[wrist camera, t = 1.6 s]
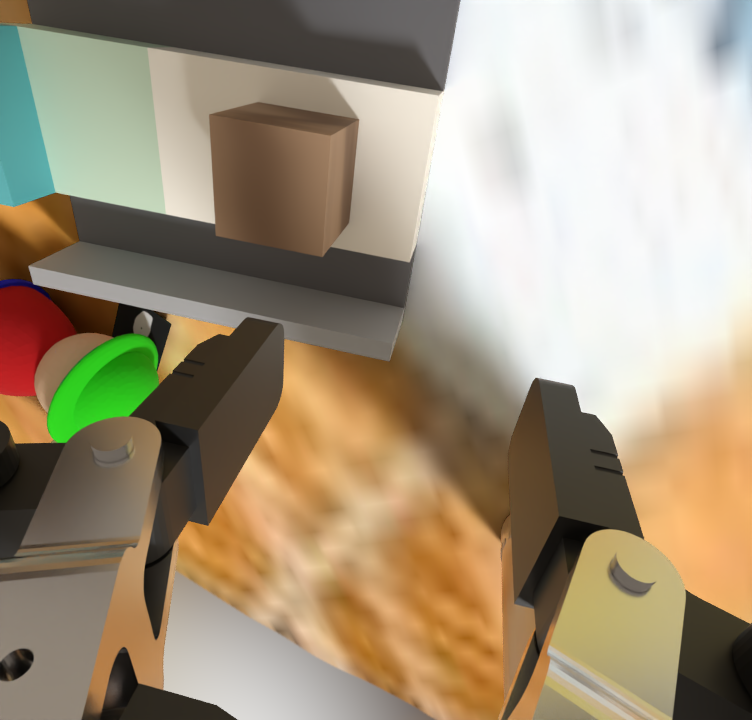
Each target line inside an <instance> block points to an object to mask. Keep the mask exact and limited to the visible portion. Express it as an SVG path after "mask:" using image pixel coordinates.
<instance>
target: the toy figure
mask: <svg viewBox="0 0 752 720" xmlns="http://www.w3.org/2000/svg"><path fill="white" fill-rule="evenodd" d="M170 327H171V324H170V323H169V322H168V321H166V320H165V319H163V318H162V317H160V316H159V315H158V314H156V313H155V312H153V311H152V310H149V309H145V308H140V307H136V306H131V305H126V304H122V303H119V306H118V311H117V316H116V320H115V325H114V329H113V334H112V337H110V336H107V335H104V334H98V333H82V334H77V333H76V331H75V329H74V327H73V325H72V323H71V322H70V320H69V319H68V318H67V316H66V315H65V314H64V313H63V312H62V311H61V310H60V309H59V307H58V306H57V305H55V304H54V303H53V302H52V300H51V298H50V296H49V294H48V293H47V292H45V291H44V290H43V289H42V288H41V287H39V286H38V285H34V284H33V283H32V282H30V281H26V280H21V279H8V280H2V281H0V394H4V395H10V396H35V395H37V398H38V400H39V402H40V404H41V406H42V407H43V408H44V409H45V410H46V412H47V413H48V415H47V427H48V431H49V433H50V435H51V437H52V438H53V439H54V440H55V441H56V442H57V443H67V441H68V440H69V439H70V438H71V437H72V436H73V435H74V434H75V433H76V432H78V431H79V430H81V429H82V428H84V427H86V426H88V425H90V424H92V423H95V422H97V421H100V420H104V419H107V418H113V417H123V416H124V417H129V415H130V414H131V413H132V412H133V411H134V410H135V409H136V408H137V407H138V406H139V405H140V404H141V403H142V402H143V401H144V400H145V399H146V398H147V397H148V396H149V395H150V394H151V393H152V392H153V391H154V390H155V389H156V388H157V386H158V385H159V379H158V374H157V370H158V367H159V363H160V360H161V357H162V353H163V350H164V347H165V343H166V340H167V337H168V333H169V330H170Z"/></svg>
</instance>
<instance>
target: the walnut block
mask: <svg viewBox="0 0 752 720" xmlns="http://www.w3.org/2000/svg"><path fill="white" fill-rule="evenodd" d="M209 124H210V142H211V159H212V177H213V194H214V212H215V230H216V236H219V237H224V238H229V239H234V240H239V241H244V242H249V243H255V244H260V245H265V246H270V247H275V248H280V249H285V250H290V251H295V252H300V253H305V254H310V255H315V256H320V257H323V256H324V254H325V253H326V252H327V250H328V249H329V248H330V247H331V245H332V244H333V243H334V242H335V240H336V239H337V238H338V237H339V235H340V234H341V233H342V231H343V230H344V229H345V228H346V226H347V225H348V224H349V219H350V209H351V199H352V189H353V179H354V168H355V158H356V148H357V138H358V128H359V119H355V118H349V117H343V116H337V115H331V114H325V113H320V112H314V111H308V110H302V109H296V108H291V107H285V106H279V105H273V104H267V103H261V102H256V103H252V104H248V105H244V106H240V107H236V108H232V109H228V110H224V111H220V112H216V113H213V114H209Z"/></svg>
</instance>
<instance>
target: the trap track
mask: <svg viewBox="0 0 752 720" xmlns="http://www.w3.org/2000/svg"><path fill="white" fill-rule="evenodd" d="M27 2H28V6H29V11H30V16H31V20H32V24H20V23H0V204H2V205H7V206H12V207H15V206H18V205H21V204H24V203H27V202H30V201H33V200H35V199H38V198H41V197H44V196H47V195H50V194H53V193H60V194H65V195H70V199H71V204H72V208H73V213H74V218H75V222H76V227H77V231H78V236H79V240H80V241H79V242H77V243H75V244H73V245H71V246H69V247H66V248H64V249H62V250H60V251H58V252H56V253H54V254H52V255H50V256H48V257H46V258H44V259H42V260H40V261H37V262H35V263H33V264H31V265H29V266H28V267H29V270H30V274H31V277H32V281H33V284H34V285H39V286H43V287H48V288H53V289H57V290H62V291H66V292H71V293H76V294H80V295H85V296H90V297H94V298H99V299H103V300H108V301H113V302H117V303H122V304H126V305H131V306H136V307H140V308H145V309H149V310H154V311H159V312H163V313H168V314H173V315H177V316H182V317H186V318H191V319H196V320H200V321H205V322H209V323H214V324H219V325H223V326H228V327H232V328H237V327H238V326H239V325H240V324H241V322H242V321H243V320H244V319H245V318H247V317H251V318H256V319H261V320H266V321H270V322H275V323H280V324H282V325H283V328H284V339H288V340H292V341H297V342H302V343H306V344H311V345H315V346H320V347H325V348H329V349H334V350H338V351H343V352H348V353H352V354H357V355H362V356H366V357H371V358H375V359H380V360H385V361H389V362H390V359H391V355H392V352H393V349H394V346H395V343H396V340H397V337H398V334H399V330H400V327H401V324H402V321H403V316H404V310H405V305H406V299H407V294H408V288H409V283H410V277H411V272H412V266H413V260H414V255H415V249H416V244H417V238H418V233H419V227H420V222H421V216H422V211H423V205H424V199H425V194H426V188H427V183H428V177H429V172H430V166H431V161H432V155H433V150H434V144H435V138H436V133H437V127H438V122H439V116H440V111H441V105H442V100H443V94H444V89H445V83H446V77H447V72H448V66H449V61H450V55H451V50H452V44H453V39H454V33H455V28H456V22H457V16H458V11H459V5H460V0H27ZM256 102H261V103H267V104H273V105H279V106H285V107H291V108H296V109H302V110H308V111H314V112H320V113H325V114H331V115H337V116H343V117H349V118H355V119H359V128H358V138H357V148H356V158H355V168H354V179H353V189H352V199H351V209H350V219H349V224H348V225H347V226H346V228H345V229H344V230H343V231H342V233H341V234H340V235H339V237H338V238H337V239H336V240H335V242H334V243H333V244H332V245H331V247H330V248H329V249H328V250H327V252H326V253H325V254H324V256H323V257H320V256H315V255H310V254H305V253H300V252H295V251H290V250H285V249H280V248H275V247H270V246H265V245H260V244H255V243H249V242H244V241H239V240H234V239H229V238H224V237H219V236H216V230H215V212H214V194H213V177H212V159H211V142H210V124H209V114H213V113H216V112H220V111H224V110H228V109H232V108H236V107H240V106H244V105H248V104H252V103H256Z"/></svg>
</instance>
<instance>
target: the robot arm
mask: <svg viewBox="0 0 752 720" xmlns="http://www.w3.org/2000/svg"><path fill="white" fill-rule="evenodd" d="M283 369H284V328H283V325H282V324H280V323H275V322H270V321H266V320H261V319H256V318H251V317H247V318H245V319H244V320H243V321H242V322H241V324H240V325H239V326H238V327H237V328H236V329H235V330H234V331H233V333H232V334H231V335H230V336H226V335H221V334H218V335H216V336H214V337H212V338H210V339H208V340H206V341H204V342H202V343H200V344H198V345H197V346H196V347H195V348H194V349H193V350H192V351H191V352H190V353H189V354H188V355H187V356H186V358H185V359H184V362H181V363H180V364H179V365H178V366H177V367H176V368H175V369H174V370H173V373H172V374H169V375H168V376H167V377H166V378H165V379H164V380H163V381H162V382H161V383H160V384H159V385H158V386H157V388H156V389H155V390H154V391H153V392H152V393H151V394H150V395H149V396H148V397H147V398H146V399H145V400H144V401H143V402H142V403H141V404H140V405H139V406H138V407H137V408H136V409H135V410H134V411H133V412H132V413H131V414H130V415H129V417H124V416H123V417H113V418H107V419H104V420H100V421H97V422H95V423H92V424H90V425H88V426H86V427H84V428H82V429H81V430H79V431H78V432H76V433H75V434H74V435H73V436H72V437H71V438H70V439H69V440H68V441H67V443H24V444H15V443H14V441H13V438H12V436H11V433H10V431H9V428H8V427H7V426H6V425H5V423H3V422H1V421H0V720H237V719H236V718H234V717H233V716H231V715H230V714H228V713H227V712H226V711H224V710H223V709H221V708H220V707H218V706H217V705H214V704H210V703H206V702H203V701H200V700H196V699H192V698H189V697H186V696H182V695H179V694H175V693H172V692H168V691H165V690H163V684H164V683H163V682H164V676H163V656H164V645H165V637H166V631H167V624H168V617H169V610H170V604H171V597H172V589H173V583H174V576H175V569H176V562H177V556H178V546H179V544H178V536H179V535H180V533H181V532H182V530H183V528H184V527H185V525H186V524H187V522H188V521H191V522H195V523H199V524H203V525H207V526H208V525H209V523H210V522H211V520H212V518H213V517H214V515H215V513H216V511H217V510H218V508H219V506H220V504H221V503H222V501H223V499H224V498H225V496H226V494H227V492H228V491H229V489H230V487H231V486H232V484H233V482H234V480H235V479H236V477H237V475H238V474H239V472H240V470H241V468H242V467H243V465H244V463H245V462H246V460H247V458H248V456H249V455H250V453H251V451H252V450H253V448H254V446H255V444H256V443H257V441H258V439H259V438H260V436H261V434H262V432H263V431H264V429H265V427H266V426H267V424H268V422H269V420H270V419H271V417H272V415H273V414H274V412H275V410H276V408H277V406H278V403H279V400H280V397H281V393H282V388H283ZM617 456H618V453H617V450H616V447H615V444H614V441H613V437H612V435H611V433H610V432H609V431H608V430H607V429H606V427H605V426H604V425H603V424H602V422H601V421H600V420H599V419H598V418H597V416H596V415H592V414H587V413H583V412H581V410H580V406H579V402H578V398H577V393H576V390H575V387H574V386H573V385H568V384H564V383H559V382H554V381H549V380H545V379H540V378H535V379H534V381H533V382H532V384H531V387H530V389H529V392H528V395H527V397H526V400H525V403H524V405H523V408H522V411H521V413H520V416H519V419H518V421H517V424H516V427H515V429H514V432H513V435H512V438H511V442H510V447H509V454H508V474H509V497H510V515H509V516H508V517H507V518H506V520H505V522H504V523H503V526H502V530H501V561H502V613H503V664H504V704H503V707H502V710H501V712H500V715H499V717H498V720H752V623H751V624H749V623H747V622H745V621H743V620H741V619H739V618H737V617H735V616H733V615H732V614H730V613H728V612H726V611H724V610H722V609H720V608H718V607H716V606H714V605H712V604H710V603H708V602H706V601H704V600H702V599H700V598H698V597H697V596H695V595H693V594H691V593H690V592H688V591H687V590H685V587H684V584H683V581H682V579H681V577H680V575H679V573H678V571H677V570H676V568H675V567H674V566H673V564H672V563H671V562H670V561H669V560H668V558H667V557H666V556H665V555H664V554H663V553H661V552H660V551H659V550H658V549H657V548H656V547H654V546H653V545H651V544H650V543H649V542H647V541H645V540H644V537H643V534H642V531H641V527H640V524H639V521H638V518H637V514H636V511H635V508H634V505H633V502H632V498H631V495H630V492H629V489H628V486H627V482H626V479H625V476H623V470H622V466H621V463H620V460H619V459H617Z"/></svg>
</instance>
